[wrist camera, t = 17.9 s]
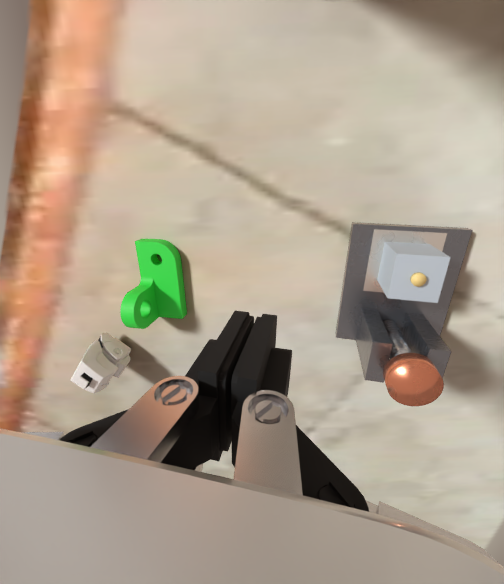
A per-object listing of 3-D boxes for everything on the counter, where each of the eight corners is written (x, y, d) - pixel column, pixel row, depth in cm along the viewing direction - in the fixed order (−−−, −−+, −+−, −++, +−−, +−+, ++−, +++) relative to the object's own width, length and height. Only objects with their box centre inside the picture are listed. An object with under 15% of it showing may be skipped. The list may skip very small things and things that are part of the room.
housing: (384, 241, 35) (398, 254, 29) (429, 244, 34) (452, 258, 28) (377, 280, 37) (388, 300, 31) (419, 283, 36) (439, 304, 30)
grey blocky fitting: (112, 324, 51) (67, 357, 42) (143, 347, 51) (105, 384, 42) (100, 346, 53) (55, 380, 44) (130, 367, 54) (91, 406, 45)
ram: (371, 308, 39) (392, 360, 28) (412, 312, 38) (450, 368, 27) (365, 341, 41) (382, 401, 30) (403, 345, 40) (435, 410, 29)
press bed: (352, 222, 36) (363, 237, 27) (467, 228, 34) (521, 247, 25) (335, 333, 42) (340, 376, 33) (432, 344, 40) (465, 394, 31)
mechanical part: (187, 313, 47) (163, 338, 40) (153, 310, 48) (124, 334, 41) (179, 239, 42) (150, 252, 35) (142, 238, 44) (107, 251, 36)
